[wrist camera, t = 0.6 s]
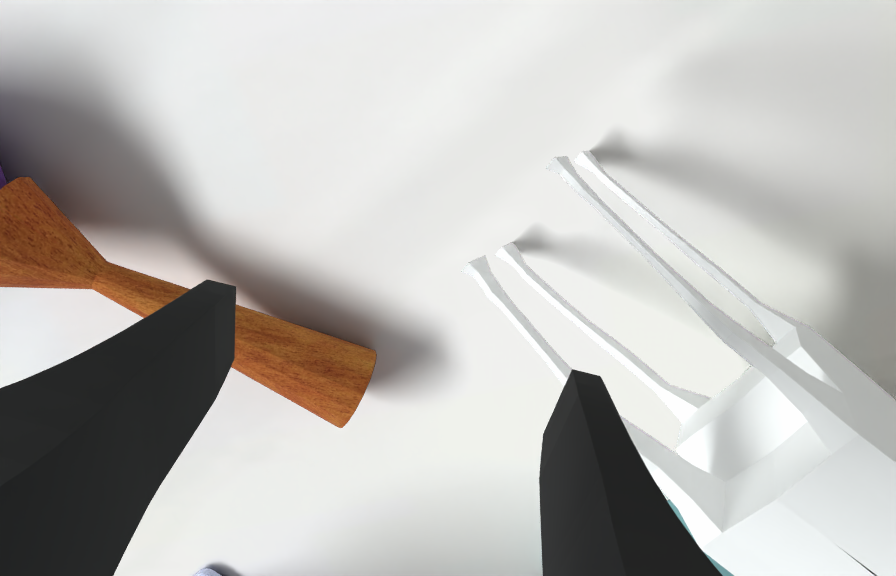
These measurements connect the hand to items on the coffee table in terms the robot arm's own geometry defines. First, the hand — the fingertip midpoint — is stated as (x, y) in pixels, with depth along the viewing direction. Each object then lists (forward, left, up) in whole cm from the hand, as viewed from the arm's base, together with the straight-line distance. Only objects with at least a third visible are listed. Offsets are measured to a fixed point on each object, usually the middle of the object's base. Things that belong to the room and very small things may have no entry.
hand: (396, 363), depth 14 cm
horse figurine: (+4, -15, -11) cm, 19 cm away
